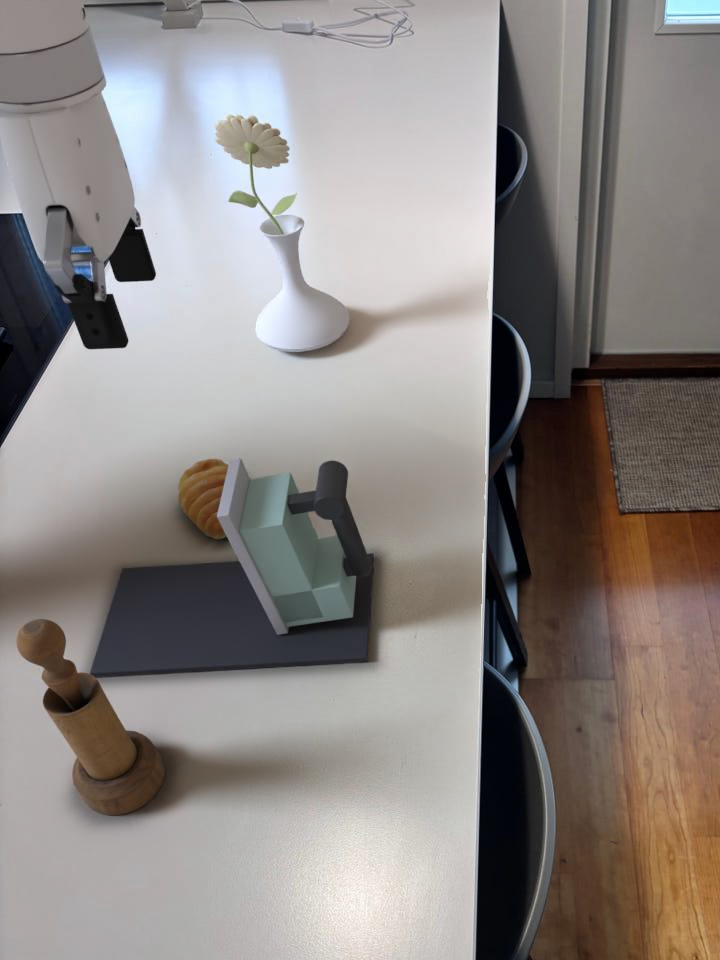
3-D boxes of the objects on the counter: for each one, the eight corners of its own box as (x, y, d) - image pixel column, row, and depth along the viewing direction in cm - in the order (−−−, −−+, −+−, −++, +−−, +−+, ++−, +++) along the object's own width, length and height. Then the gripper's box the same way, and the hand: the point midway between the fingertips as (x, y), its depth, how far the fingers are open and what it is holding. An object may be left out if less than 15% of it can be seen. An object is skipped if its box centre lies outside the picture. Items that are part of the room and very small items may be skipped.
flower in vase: (370, 325, 120) (336, 108, 102) (310, 371, 114) (262, 149, 96) (291, 299, 126) (245, 88, 107) (229, 342, 120) (169, 126, 101)
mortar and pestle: (64, 791, 77) (-40, 639, 64) (125, 733, 81) (39, 578, 67) (121, 830, 75) (26, 680, 61) (182, 769, 78) (104, 614, 65)
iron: (216, 516, 76) (335, 497, 74) (229, 459, 80) (341, 440, 79) (277, 635, 86) (382, 619, 85) (285, 578, 91) (385, 563, 89)
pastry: (266, 529, 96) (257, 499, 94) (199, 553, 95) (188, 523, 92) (239, 476, 102) (230, 446, 99) (176, 497, 101) (165, 468, 98)
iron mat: (91, 677, 85) (89, 673, 85) (124, 572, 94) (122, 567, 93) (367, 662, 84) (366, 657, 84) (374, 557, 93) (373, 552, 93)
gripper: (21, 25, 68) (102, 259, 81) (-68, 123, 57) (42, 378, 70) (128, 19, 68) (191, 255, 81) (60, 117, 57) (147, 373, 70)
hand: (122, 311), depth 75 cm, fingers open, 9 cm apart
